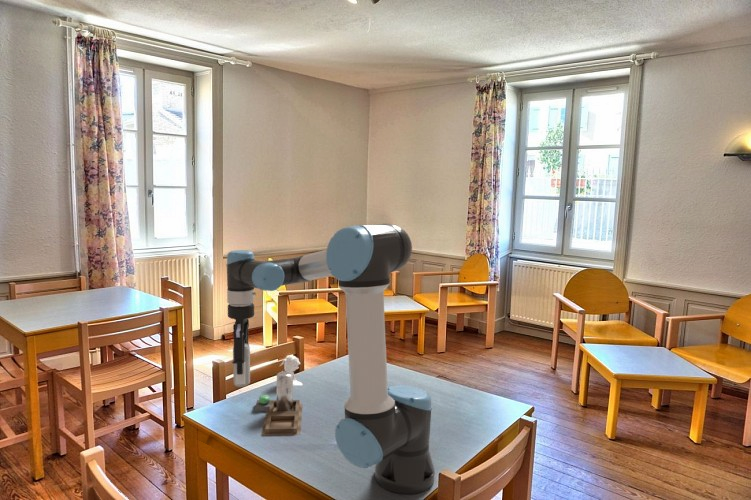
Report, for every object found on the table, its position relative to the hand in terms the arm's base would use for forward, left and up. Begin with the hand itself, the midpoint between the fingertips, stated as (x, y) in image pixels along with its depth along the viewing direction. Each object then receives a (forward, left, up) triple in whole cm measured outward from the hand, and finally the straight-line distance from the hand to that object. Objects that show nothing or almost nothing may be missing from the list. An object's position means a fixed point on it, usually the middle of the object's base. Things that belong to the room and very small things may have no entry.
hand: (241, 380), depth 151 cm
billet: (+6, -12, -13) cm, 19 cm away
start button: (+9, -6, -11) cm, 15 cm away
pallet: (+1, -10, -14) cm, 18 cm away
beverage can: (0, 0, -2) cm, 2 cm away
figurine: (+27, -13, -15) cm, 33 cm away
